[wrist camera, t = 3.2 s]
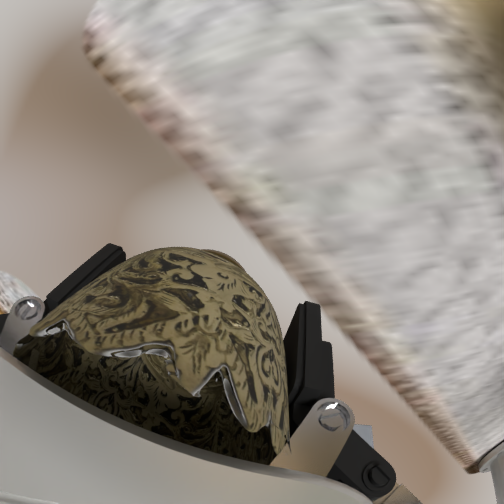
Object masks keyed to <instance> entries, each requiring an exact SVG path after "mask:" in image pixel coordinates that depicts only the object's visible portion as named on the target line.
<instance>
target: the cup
mask: <svg viewBox="0 0 504 504" xmlns="http://www.w3.org/2000/svg"><path fill="white" fill-rule="evenodd" d="M31 349H35V350H37V351H39V352H40V354H39V358H38V362H37V367H36V372H37V373H38V374H40V375H41V376H43V377H44V378H46V379H47V380H49V381H51V382H52V383H54V384H56V385H57V386H59V387H61V388H62V389H64V390H66V391H67V392H69V393H71V394H73V395H75V396H76V397H78V398H80V399H82V400H84V401H86V402H87V403H89V404H91V405H93V406H95V407H97V408H99V409H101V410H103V411H105V412H107V413H109V414H111V415H114V416H116V417H118V418H120V419H122V420H125V421H127V422H129V423H131V424H134V425H136V426H138V427H141V428H143V429H146V430H148V431H151V432H153V433H156V434H159V435H161V436H164V437H167V438H170V439H172V440H175V441H178V442H181V443H184V444H187V445H190V446H193V447H197V448H200V449H203V450H207V451H210V452H214V453H218V454H221V455H225V456H229V457H233V458H237V459H241V460H246V461H250V462H255V463H259V464H264V465H269V464H270V463H271V461H272V460H273V459H274V458H275V457H276V455H277V454H279V453H281V451H282V450H283V447H284V445H285V444H286V442H288V440H289V441H290V434H289V407H288V386H287V370H286V358H285V350H284V344H283V338H282V332H281V328H280V325H279V322H278V319H277V316H276V313H275V311H274V308H273V307H272V304H271V303H270V301H269V299H268V298H267V296H266V295H265V293H264V291H263V290H262V289H261V288H260V286H259V285H258V284H257V283H256V282H255V281H254V280H253V279H252V278H251V277H250V276H249V275H248V274H247V273H246V271H245V270H244V268H243V267H242V266H241V265H240V264H239V263H238V262H237V261H236V260H235V259H233V258H232V257H230V256H229V255H227V254H225V253H222V252H219V251H215V250H209V249H207V250H206V249H202V250H200V249H195V248H188V247H168V248H159V249H154V250H150V251H147V252H144V253H141V254H139V255H136V256H134V257H132V258H129V259H128V260H126V261H124V262H122V263H120V264H118V265H117V266H115V267H113V268H112V269H110V270H108V271H107V272H105V273H104V274H102V275H101V276H99V277H98V278H96V279H95V280H93V281H92V282H91V283H89V284H88V285H86V286H85V287H83V288H82V289H81V290H79V291H78V292H76V293H75V294H74V295H72V296H71V297H70V298H68V299H67V300H65V301H64V302H63V303H61V304H60V305H59V306H57V307H56V308H55V309H54V310H52V311H51V312H50V313H48V314H47V315H46V316H45V317H43V318H42V319H41V320H39V321H38V322H37V324H35V325H34V326H32V327H31V328H30V332H29V334H28V335H26V336H25V337H24V338H22V339H21V340H19V341H18V342H17V344H16V346H15V349H14V351H13V356H14V357H16V358H21V357H22V356H24V355H25V354H27V353H28V352H29V351H30V350H31ZM285 454H286V453H285ZM291 454H292V453H291Z"/></svg>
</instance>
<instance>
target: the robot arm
mask: <svg viewBox="0 0 504 504" xmlns="http://www.w3.org/2000/svg"><path fill="white" fill-rule="evenodd" d="M124 261H126V254H125V252H124V251H123V249H122V247H120V246H117V245H114V244H111V243H109V244H107V245H106V246H104V247H103V248H102V249H101V250H100V251H98V252H97V253H96V254H94V255H93V256H92V257H91V258H90V259H88V260H87V261H86V262H85V263H84V264H82V265H81V266H80V267H79V268H78V269H77V270H75V271H74V272H73V273H72V274H71V275H69V276H68V277H67V278H66V279H65V280H64V281H63V282H62V283H60V284H59V285H58V286H57V287H56V288H55V289H54V290H52V291H51V292H50V293H49V294H48V295H47V296H46V297H47V299H46V300H45V301H44V302H43V301H42V300H41V299H40V298H38V297H34V296H27V297H23V298H21V299H19V300H18V301H16V302H15V303H14V305H13V306H12V308H11V310H10V313H7V314H1V315H0V504H422V503H421V502H420V501H419V500H418V499H417V498H416V497H415V496H414V495H413V494H412V493H411V492H410V491H409V490H408V489H407V488H406V487H405V486H404V485H403V484H401V485H398V484H397V483H396V473H395V471H394V469H393V468H392V466H391V465H390V464H389V463H388V462H387V461H386V460H385V459H384V458H383V457H382V456H381V455H380V454H379V453H377V452H376V451H375V450H374V449H373V448H372V447H371V446H370V445H369V444H368V443H367V442H366V441H365V440H364V439H363V438H362V437H360V436H359V435H358V434H357V433H356V432H355V431H354V430H353V427H354V423H355V418H354V414H353V412H352V410H351V409H350V407H349V406H348V405H347V404H345V403H344V402H342V401H340V400H338V399H335V395H334V375H333V359H332V358H333V357H332V345H331V343H330V342H326V341H322V331H321V311H320V305H319V304H315V303H311V302H308V301H305V303H304V304H300V303H299V305H298V306H297V309H296V311H295V314H294V316H293V319H292V321H291V324H290V326H289V328H288V331H287V333H286V335H285V338H284V340H283V344H284V350H285V358H286V370H287V386H288V407H289V434H290V441H289V440H288V442H286V444H285V445H284V447H283V450H282V451H281V453H279V454H277V455H276V457H275V458H274V459H273V460H272V461H271V463H270V464H269V465H264V464H259V463H255V462H250V461H246V460H241V459H237V458H233V457H229V456H225V455H221V454H218V453H214V452H210V451H207V450H203V449H200V448H197V447H193V446H190V445H187V444H184V443H181V442H178V441H175V440H172V439H170V438H167V437H164V436H161V435H159V434H156V433H153V432H151V431H148V430H146V429H143V428H141V427H138V426H136V425H134V424H131V423H129V422H127V421H125V420H122V419H120V418H118V417H116V416H114V415H111V414H109V413H107V412H105V411H103V410H101V409H99V408H97V407H95V406H93V405H91V404H89V403H87V402H86V401H84V400H82V399H80V398H78V397H76V396H75V395H73V394H71V393H69V392H67V391H66V390H64V389H62V388H61V387H59V386H57V385H56V384H54V383H52V382H51V381H49V380H47V379H46V378H44V377H43V376H41V375H40V374H38V373H37V372H36V367H37V362H38V358H39V354H40V352H39V351H37V350H35V349H31V350H30V351H29V352H28V353H27V354H25V355H24V356H22V357H21V358H16V357H14V356H13V351H14V349H15V346H16V344H17V342H18V341H19V340H21V339H22V338H24V337H25V336H26V335H28V334H29V332H30V328H31V327H32V326H34V325H35V324H37V322H38V321H39V320H41V319H42V318H43V317H45V316H46V315H47V314H48V313H50V312H51V311H52V310H54V309H55V308H56V307H57V306H59V305H60V304H61V303H63V302H64V301H65V300H67V299H68V298H70V297H71V296H72V295H74V294H75V293H76V292H78V291H79V290H81V289H82V288H83V287H85V286H86V285H88V284H89V283H91V282H92V281H93V280H95V279H96V278H98V277H99V276H101V275H102V274H104V273H105V272H107V271H108V270H110V269H112V268H113V267H115V266H117V265H118V264H120V263H122V262H124ZM285 453H286V454H285ZM291 453H292V454H291ZM478 467H479V471H480V472H483V473H484V472H488V471H491V473H492V478H493V483H494V488H495V494H496V499H497V504H504V442H502V443H501V444H500V445H499V446H497V447H496V448H495V449H493V450H492V451H491V452H490V453H489V454H487V455H486V456H485V457H484V458H483V459H482V460H481V462H480V463H479V465H478Z"/></svg>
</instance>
